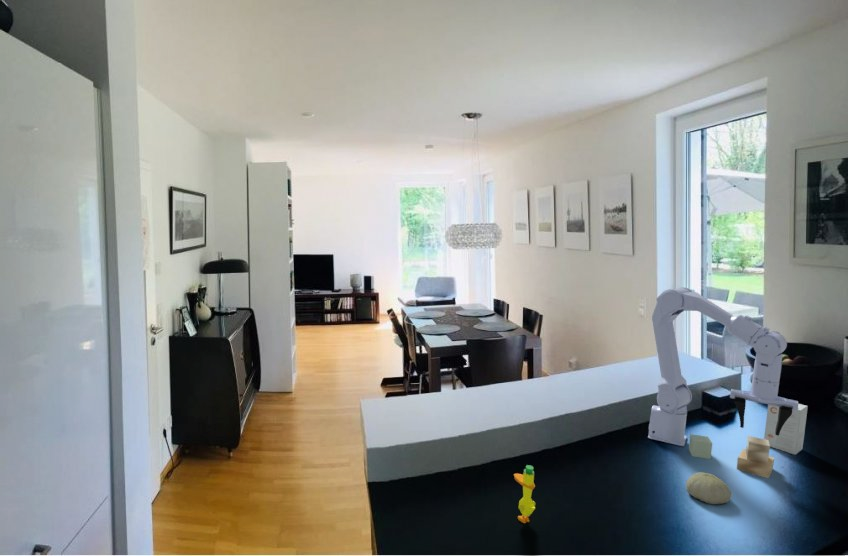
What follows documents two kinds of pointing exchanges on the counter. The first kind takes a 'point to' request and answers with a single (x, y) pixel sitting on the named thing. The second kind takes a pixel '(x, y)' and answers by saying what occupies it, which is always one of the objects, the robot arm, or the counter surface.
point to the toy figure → (526, 493)
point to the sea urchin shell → (708, 488)
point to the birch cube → (757, 449)
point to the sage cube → (700, 446)
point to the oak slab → (755, 465)
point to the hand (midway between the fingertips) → (759, 430)
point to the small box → (786, 429)
